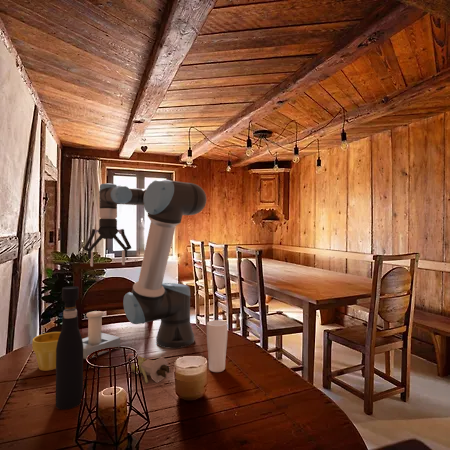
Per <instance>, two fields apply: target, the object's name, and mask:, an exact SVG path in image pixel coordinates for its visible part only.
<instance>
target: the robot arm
mask: <svg viewBox="0 0 450 450" xmlns="http://www.w3.org/2000/svg"><path fill="white" fill-rule="evenodd" d="M98 194H99V196H98V197H99V200H98V201H99V206H98V207H99V211H98V212H99V213H98V214H99V215H98V216H99V220H98V221H99V222H98V229H95V228H92V229H91V230H90V231H91V232H90V235H89V236H88V238H87V241H86V242H85V244H84V246H83V250H84V251H87V259H88V260H89V262H90V267H94V251H92V250H93V249H94V248H95V247H96V246H97V245H98V244H99V242H101V240H102V239H104V240H113V239H114V240H115V242H116V243H118V245H119V246H120V247H121V248H122V250H121V265H122V266H125V264H126V258H128V251H129V250H131V249H132V246H131V243H130V242H129V240H128V238H127V236H126V233H125V229H124V228H120V229H118V220H117V218H118V205H128V206H143V208H144V210H145V211H146V212H147V218H148V219H149V220H150V224H149V230H148V235H147V238H146V242H145V249H144V253H143V258H142V263H141V268H140V272H139V277H138V280H137V281H136V282H135V283H134V284H132V289H131V292H130V291H129V292H127V293H125V295H124V296H123V302H122V303H123V309H124V314H125V316H126V318H127V319H128V321H129V322H130V323H131V324H133V325H141V324H142V325H143V324H146V323H149V322H153V321H154V322H155V321H159V320H160V324H159V328H158V331H157V335H156V337H155V338H156V339H155V340H156V341H155V343H156V344H157V346H159V347H162V348H169V349H179V348H185V347H188V346H191V345H192V344H194V342H195V333H194V331H193V327H192V324H191V289H190V286H189V285H186V284H182V283H171V282H164V278H165V273H166V269H167V265H168V259H169V256H170V252H171V247H172V243H173V239H174V234H175V230H176V227H177V226H178V225H180V224H181V223H182V219H183V216H194V215H197V214H199V213H201V212H202V211H203V210H204V209H205V208H206V204H207V194H206V191H204V189H203V188H202V186H200V185H198V184H196V183H193V182H183V181H178V180H177V181H176V180H169V179H155V180H153V181H152V182H150V183H149V185H148V186H147V188H139V187H138V188H137V187H128V186H127V185H117V184H115V183H107V182H105V183H101V184H100V185H99V190H98ZM97 233H98V234H99V236H98V237H97V238H96V239H95V240H94V242H93V243H92V244H91V242H92V240H93V238H95V235H97ZM118 233H119V234H120V235H121V238H122V240H123V242H124V243H123V242H122V241H121V240H120V239H119V237H118V236H117V234H118ZM163 282H164V283H163Z"/></svg>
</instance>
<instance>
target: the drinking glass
mask: <svg viewBox="0 0 450 450" xmlns="http://www.w3.org/2000/svg"><path fill="white" fill-rule="evenodd" d="M206 346H207V347H206V348H207V356H208V358H207V360H208V369H209V371H210V372H213V373H221V372H224V370H225V369H226V356H227V347H228V322H227V321H225V320H221V319H220V320H218V319H215V320H209V321H207V323H206Z"/></svg>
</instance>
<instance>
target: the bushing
mask: <svg viewBox="0 0 450 450" xmlns="http://www.w3.org/2000/svg"><path fill="white" fill-rule="evenodd" d="M103 316H104V311H100V310H98V311H97V310H94V311H89V312H86V318H87V319H88V324H87V325H88V326H87V327H88V328H87V337H88V345H92V346H94V345H97V344H100V343H102V333H103V332H102V329H103V326H102V322H103V321H102V317H103Z"/></svg>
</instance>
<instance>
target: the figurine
mask: <svg viewBox="0 0 450 450" xmlns="http://www.w3.org/2000/svg"><path fill="white" fill-rule="evenodd" d="M134 356H135V354H133V353H128V354H127V361H128V362H129V361H130V360H132V359H133V358H134ZM132 357H133V358H132ZM137 357H138V365H139V370H140V374H143V375H142V376H143V377H144V382H145V384H148V383H149V380H148V377H147V376H150V377H151V379H152V380H153V381H154V382H155V383H157V384H158V383H159V382H160V381H163V380H164V379H165V378H166V377H167V374H169V373H170V372H171V370H170V367H169V365H168V361H167V360H166V359H165V358H164V356H161V357H159V358H157V359H149V358H147V359H146V357H142V356H141V355H139V354H138V355H137ZM128 366H129V364H128ZM131 371H132V372H131ZM131 371H130V372H131V373H134V374H135V365H134V363H132V364H131ZM136 372H137V373H138V368H137V366H136ZM138 374H139V373H138Z"/></svg>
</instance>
